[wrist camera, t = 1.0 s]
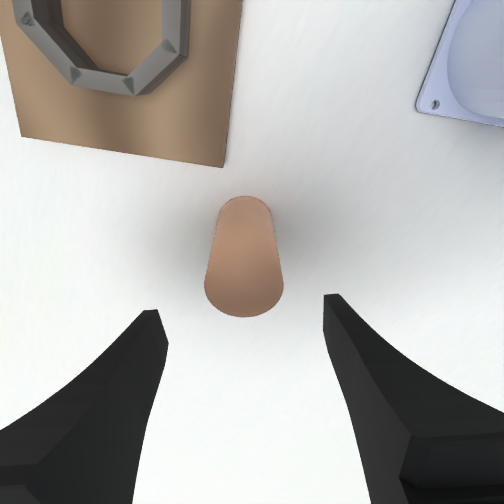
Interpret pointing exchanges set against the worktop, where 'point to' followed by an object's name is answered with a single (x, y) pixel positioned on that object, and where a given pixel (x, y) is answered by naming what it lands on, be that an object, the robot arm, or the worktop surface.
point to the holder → (124, 74)
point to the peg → (244, 260)
